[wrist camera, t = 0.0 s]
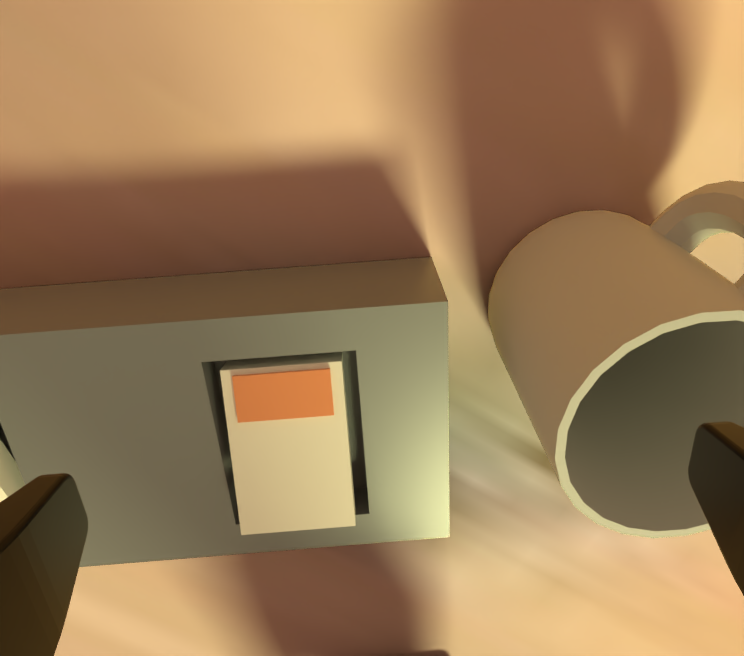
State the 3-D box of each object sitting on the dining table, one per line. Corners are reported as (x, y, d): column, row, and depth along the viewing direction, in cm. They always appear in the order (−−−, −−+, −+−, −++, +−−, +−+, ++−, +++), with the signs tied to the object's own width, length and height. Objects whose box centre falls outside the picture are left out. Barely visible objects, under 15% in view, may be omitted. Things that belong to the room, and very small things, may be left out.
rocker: (355, 508, 23) (355, 528, 22) (246, 517, 23) (240, 537, 22) (342, 351, 22) (341, 362, 20) (227, 360, 22) (219, 371, 20)
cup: (446, 320, 24) (498, 468, 17) (628, 96, 21) (805, 148, 13) (580, 404, 27) (683, 572, 19) (766, 214, 23) (989, 320, 15)
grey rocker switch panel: (435, 469, 28) (449, 537, 24) (-89, 511, 27) (-153, 585, 24) (431, 256, 23) (447, 301, 20) (-197, 303, 23) (-296, 357, 19)
